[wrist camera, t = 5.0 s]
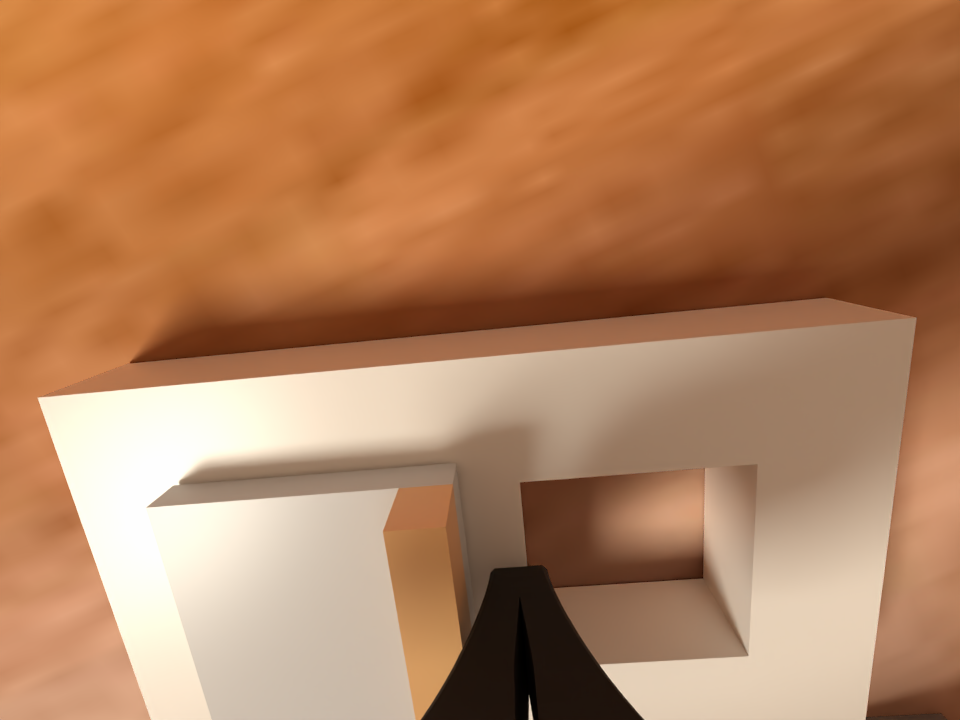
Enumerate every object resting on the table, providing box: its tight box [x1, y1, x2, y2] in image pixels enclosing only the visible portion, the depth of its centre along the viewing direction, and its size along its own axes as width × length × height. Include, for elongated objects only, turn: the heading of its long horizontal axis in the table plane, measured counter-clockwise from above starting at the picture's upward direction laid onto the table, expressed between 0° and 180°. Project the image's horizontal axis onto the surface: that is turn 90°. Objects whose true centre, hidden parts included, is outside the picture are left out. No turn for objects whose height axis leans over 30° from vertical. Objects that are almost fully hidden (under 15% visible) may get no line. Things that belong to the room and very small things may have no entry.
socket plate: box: [38, 298, 917, 720], centre depth 14 cm, size 12×20×3 cm, turn 96°
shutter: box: [146, 463, 476, 720], centre depth 12 cm, size 7×7×3 cm
